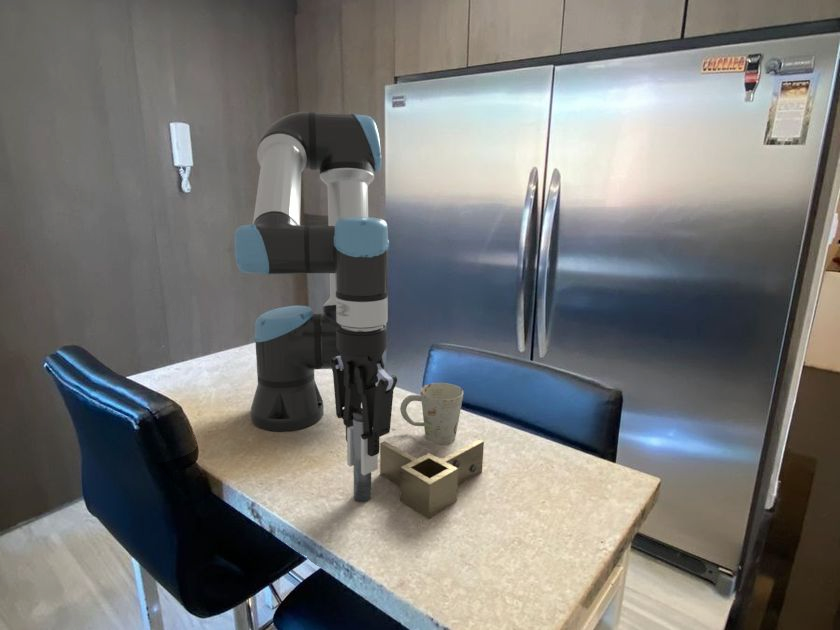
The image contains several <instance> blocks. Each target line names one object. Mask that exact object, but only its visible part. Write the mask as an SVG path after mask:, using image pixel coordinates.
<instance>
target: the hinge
mask: <svg viewBox="0 0 840 630" xmlns="http://www.w3.org/2000/svg"><path fill="white" fill-rule="evenodd" d="M484 443H485V442H484V440H482V439H476V440H474V442H472V443H469V444H467V445H466V446H464V447H462V448H460V449H457V450H456V451H454V452H452V453H451V454H448V455H446V456H445V457H443V458H439V457H437V456H435V455H433V454H432V453H426V454H424V455H422V456H421V457H418V458H416V457H414V456H412V455H411V454H409V453H408V452H405V451H404V450H402V449H400V448H398V447H397V446H395V445H393V444H391V443H389V442H387V441H385V440H384V441H381V442H379V458H380V459H379V475H381V476H382V477H384V478H386V479H387V480H389V482H390V481H391V483H393V484H394V485H395V484H396V485H397V486H399V487H400V488H399V501H400V502H401V503H403V504H404V505H406V506H408V507H409V508H411V509H412V510H413V511H416V512H417V513H418V514H420V515H422V516H423V517H425V518H426V519H427V520H430V519H431V518H433V517H434V516H437V515H438V514H439V513H441V512H442V511H444V510H446V509H448V508H449V507H451V506H452V505H454V504H455V503H457V497H458V496H457V495H458V487H459V486H460V485H462V484H464V483H466V482H467V481H469V480H471V479H472V478H474V477H476V476H477V475H480V473H483V463H484V461H483V460H484V458H483V457H484V448H485V447H484V446H485V445H484Z"/></svg>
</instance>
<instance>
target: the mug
mask: <svg viewBox="0 0 840 630" xmlns="http://www.w3.org/2000/svg"><path fill="white" fill-rule="evenodd" d="M463 398H464V390H463V389H462V388H461V387H460V386H458V385H456V384H453V383H447V382H432V383H429V384H425V385H424V386H422V387H421V389H420V394H409V395H408V396H406V397H405V398H404V399H403V400H402V402H401V404H400V409H399V410H400V413H401V417H402V418H403V419H404V421H406V423H408V424H410V425H412V426H414V427H423V428H424V429H423V430H424V437H425V439H426V440H427V441H428V442H430V443H433V444H437V445H445V444H446V445H448V444H450V443H453V442H454V441H455V439H456V437H457V431H458V425H459V421H460V414H461V410H462V405H463V404H462V403H463V400H464V399H463ZM411 402H421V409H422V410H421V411H422V415H423V416H422V418H423V421H415V420H413V419H412V418H411V417H410V415H409V414H408V411H407V408H408V406H409V404H410V403H411Z"/></svg>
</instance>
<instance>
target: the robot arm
mask: <svg viewBox="0 0 840 630" xmlns="http://www.w3.org/2000/svg"><path fill="white" fill-rule="evenodd" d="M378 130H379V129H378V127H377V124H376V121H375V120H374V119H373V117H371V116H369V115H364V114H356V113H353V112H352V113H334V112H333V113H332V112H310V111H298V112H293V113H290V114H288V115H285V116H283V117H280V118H279V119H278V120H276V121H275V122H273V123H272V124H271V125H270V126H268V128H267V129H266V130H265V131H264V133H263V134H262V136H261V138H260V140H259V142H258V147H257V151H256V153H257V154H256V157H257V162H258V164H259V166H260V171H259V177H258V182H257V183H258V184H257V191H256V199H255V206H254V213H253V219H252V223H249V224H246V225H240V226H238V227H237V228H236V229H235V233H234V255H235V262H236V266H237V268H238V270H239V271H240V272H241V273H244V274H258V275H261V274H262V275H264V276H266V275H285V274H286V275H289V274H290V275H291V274H329V294H330V296H329V298H328V299H327V301H325V303H324V304H322V306H323V307H322V309H323V312H322V313H314V311H313V309H312V307H311V306H308V305H301V304H300V305H288V306H282V307H278V308H277V307H276V308H275V309H270V310H268V311H266V312H264V313H262V314H260V315H259V316H258V317H257V318H256V321H255V323H254V338H253V340H254V341H253V342H255V354H256V355H255V356H256V374H257V386H256V389H255V393H254V396H253V400H252V402H251V403H252V404H251V407H250V419H251V422H252V423H253V425H255V427H258V428H260V429H263V430H268V431H271V432H272V431H275V432H287V431H295V430H301V429H305V428H308V427H310V426H313V425H314V424H316V423H318V422H319V421H320V420H321V419H322V418H323V416H324V413H325V412H324V407H325V406H324V401H323V398H322V396H321V393H320V391H319V387H318V385H317V383H316V379H315V370H332V375H333V387H334V388H333V391H334V403H335V413H336V417H337V418H338V419H342V422H343V425H344V426H345V441H346V444H347V445H346V446H347V447H346V451H347V452H346V453H347V455H346V457H347V460H346V461H347V466H348V467H352V466H353V411H354V410H355V409H358V408H362V411H363V421H364V432H365V433H364V434H362V435H361V474H363V475H366V474H368V473H370V472H371V473H373V472H375V471H376V470H378V468H379V467H378V462H379V461H378V460H379V459H378V458H379V457H378V454H379V455H380V438H381V437H383V436H385V435H387V434H388V435H389V433H390V431H391V422H392V413H393V402H394V401H393V397H394V389H396V385H397V383H398V378H397V376H396V375H394V374H393V375H389V374H388V373H387V372H386V370H385V363H384V359H383V356H384V353H385V352H386V350H387V348H388V327H387V323H388V321H389V320H388V315H389V314H388V312H389V311H388V304H389V303H388V301H389V299H388V296H389V295H388V269H389V267H388V263H389V261H388V260H389V259H388V257H389V248H390V247H389V246H390V241H389V231H388V224H387V221H386V220H384V219H383V218H380V217H379V218H376V217H369V188H368V187H369V185H371V183H372V182H373V181H374V180H375V173H377V172H380V170H381V169H382V154H381V153H382V152H381V150H382V148H381V142H380V134H379V131H378ZM304 170H310V171H319V179H320V180H321V182H323V184H325V185H326V187H327V218H328V219H327V221H328V224H327V225H301V209H302V208H301V203H302V201H301V199H302V173H303V171H304ZM353 467H354V466H353Z"/></svg>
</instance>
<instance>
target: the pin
mask: <svg viewBox="0 0 840 630" xmlns="http://www.w3.org/2000/svg"><path fill="white" fill-rule="evenodd" d="M364 433H365V432H364V421H363V411H362V407H361V408H358V409H355V410H354V411H353V500H354V501H355V502H357V503H361V504H362V503H367V502H369V501H370V500H372V472H370V473H368V474H366V475H363V474H361V435H362V434H364Z"/></svg>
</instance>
